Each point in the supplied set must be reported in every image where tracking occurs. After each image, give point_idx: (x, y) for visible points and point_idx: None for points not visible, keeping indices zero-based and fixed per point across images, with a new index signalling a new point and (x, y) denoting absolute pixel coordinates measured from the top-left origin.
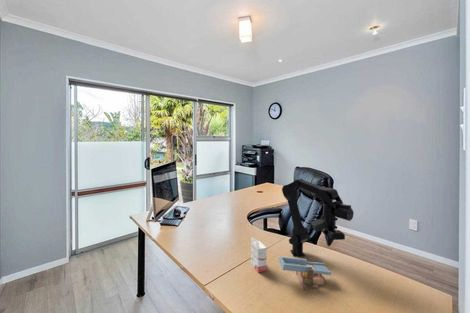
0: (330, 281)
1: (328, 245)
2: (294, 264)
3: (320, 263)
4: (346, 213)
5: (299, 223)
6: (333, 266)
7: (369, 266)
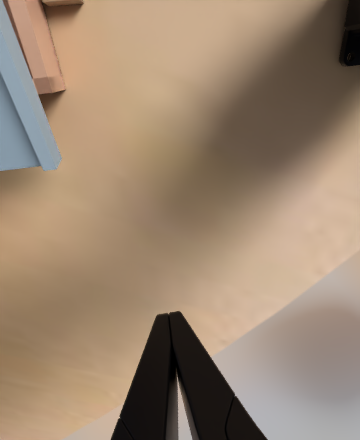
0: None
1: (156, 326)
2: None
3: (26, 125)
4: None
5: None
6: (187, 227)
7: None
